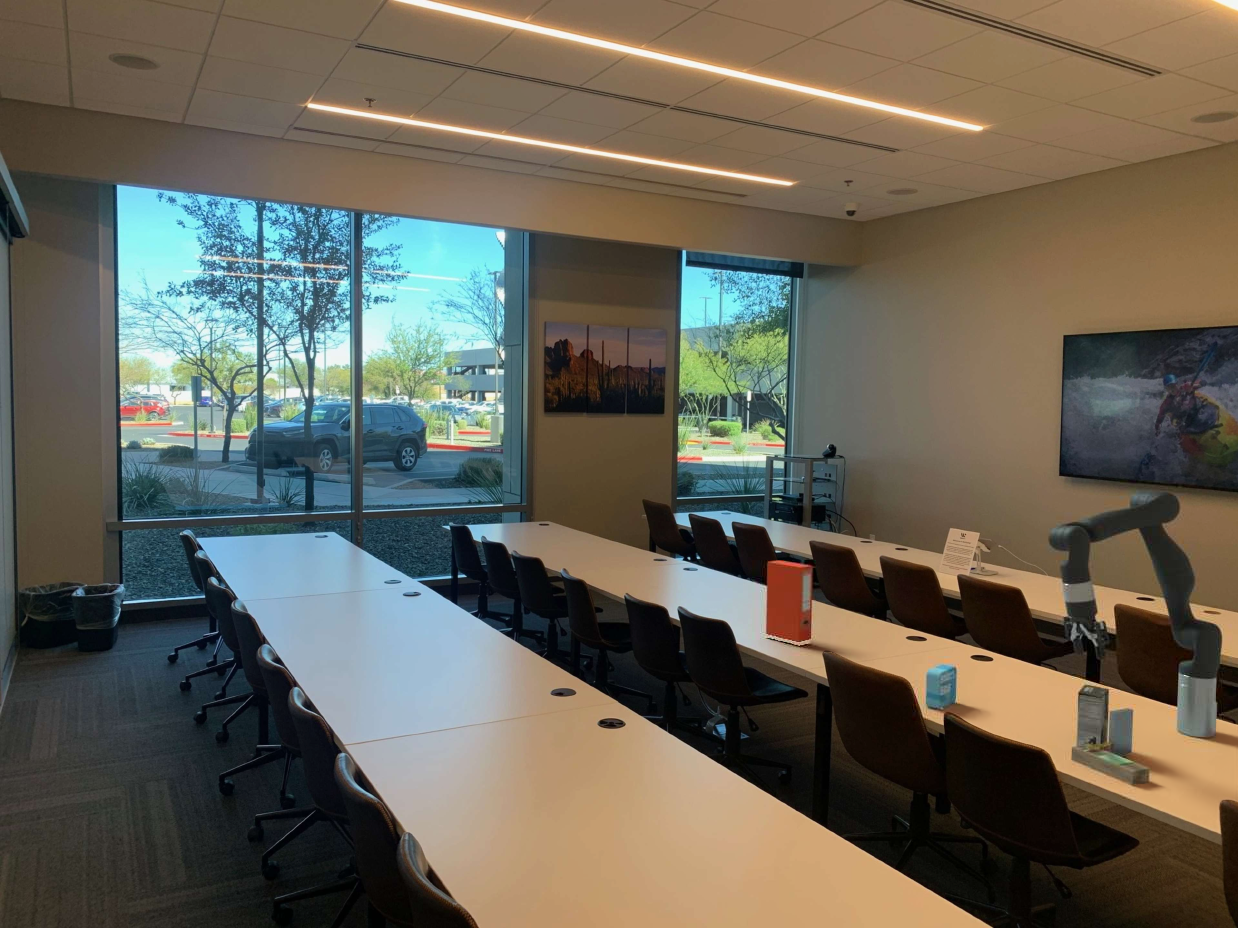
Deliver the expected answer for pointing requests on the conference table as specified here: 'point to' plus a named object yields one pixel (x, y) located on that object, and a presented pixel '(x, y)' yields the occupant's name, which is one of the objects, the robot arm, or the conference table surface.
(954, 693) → the data package
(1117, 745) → the blue-grey flat panel
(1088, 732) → the coffee box
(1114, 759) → the frame
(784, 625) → the file binder
